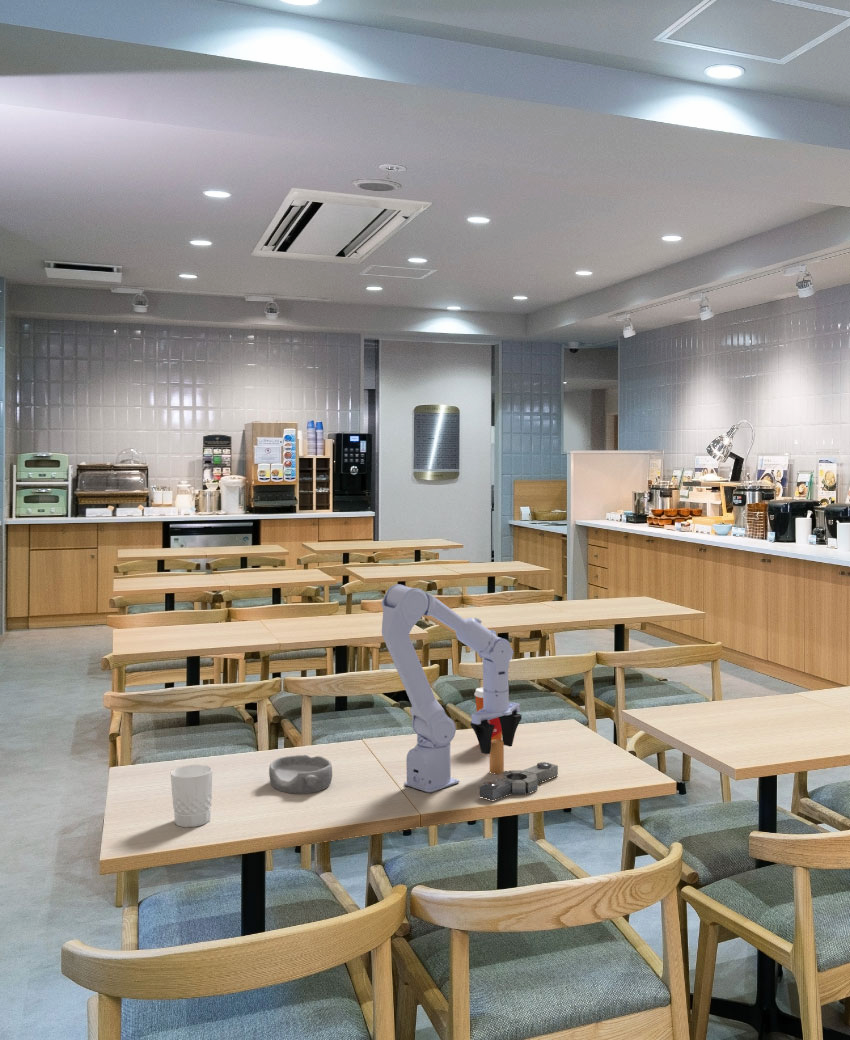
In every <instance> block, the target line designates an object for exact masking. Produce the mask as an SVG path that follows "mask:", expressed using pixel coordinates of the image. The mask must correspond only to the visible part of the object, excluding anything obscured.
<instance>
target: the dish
mask: <svg viewBox="0 0 850 1040" xmlns="http://www.w3.org/2000/svg"><path fill="white" fill-rule="evenodd" d="M268 775H269V781H270V784H271V786H272V788H273V789H275V790H277V791H278V792H279V791H280V792H283V793H287V794H299V795H300V794H302V795H303V794H312V793H317V792H319V791H323V790H324V789H326V788H328V787H329V786H330V785H331V783H332V779H333V766H332V762H331V761H330V760H329V759H327V758H326V757H323V756H321V755H320V756H319V755H317V756H310V755H308V754H307V755H306V754H304V755H302V754H296V755H295V754H294V755H287V756H286V755H285V756H280V757H278V758H276V759H274V760H272V762H270V764H269V768H268Z"/></svg>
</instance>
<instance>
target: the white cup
mask: <svg viewBox="0 0 850 1040" xmlns="http://www.w3.org/2000/svg"><path fill="white" fill-rule="evenodd" d="M170 781H171V782H170V783H171V796H172V807H173V814H174V823H175V825H176V826H179V827H181V828H195V827H201V826H203V825H206V824H207V823H208V822H210V821H211V809H212V808H211V807H212V797H213V796H212V795H213V768H212V767H211V766H209V765H207V764H189V765H188V764H187V765H183V766H179V767H176V768H174V769H172V770H171V772H170Z"/></svg>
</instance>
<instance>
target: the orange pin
mask: <svg viewBox="0 0 850 1040" xmlns="http://www.w3.org/2000/svg"><path fill="white" fill-rule="evenodd" d="M504 747H505V745H504V741H503V740H491V751H490V754H488V755H489V756H488V757H489V773H490V772H491V773H495V774H494V775H498V774H499V773H501V772H504V771H505V762H504V761H505V758H504V757H505V755H504V754H505V753H504V751H505V750H504V749H505V748H504ZM491 773H490V774H491Z"/></svg>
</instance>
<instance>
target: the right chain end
mask: <svg viewBox="0 0 850 1040" xmlns="http://www.w3.org/2000/svg"><path fill="white" fill-rule="evenodd" d="M558 771H559V766H558V765H557V764H554V763H550V762H546V761H545V762H544V761H542V762H537V763H536V764H535V765H533V766H530V767H528V768H525V769H523V770H522V769H521V770H520V769H519V770H518V769H517V770H515V769H513V770H512V769H511V770H504V772H501V773H499V774H496V780H498V779H502V780H505V781H509V782H512V789H526V788H530V787H533V786H535V785H537V786H538V785H539V784H541V783H540V782H542V781H544V782H546V781H545V780H547V779H549V778H552V777H554V776H557V775H558V776H559V772H558ZM558 776H557V777H558ZM554 778H555V777H554ZM512 779H523V780H512ZM552 779H553V778H552ZM549 780H550V779H549ZM547 781H548V780H547ZM509 782H508V783H509ZM538 783H539V784H538ZM542 783H543V782H542Z"/></svg>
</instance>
